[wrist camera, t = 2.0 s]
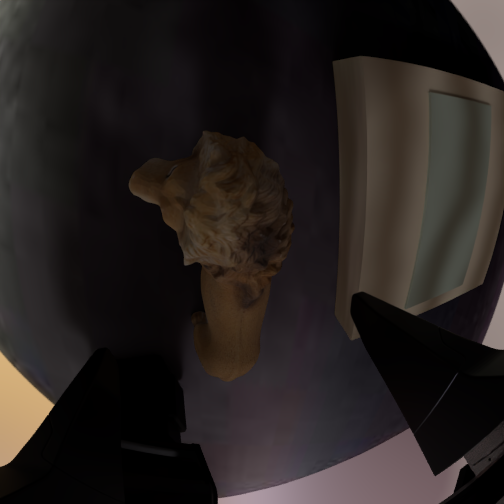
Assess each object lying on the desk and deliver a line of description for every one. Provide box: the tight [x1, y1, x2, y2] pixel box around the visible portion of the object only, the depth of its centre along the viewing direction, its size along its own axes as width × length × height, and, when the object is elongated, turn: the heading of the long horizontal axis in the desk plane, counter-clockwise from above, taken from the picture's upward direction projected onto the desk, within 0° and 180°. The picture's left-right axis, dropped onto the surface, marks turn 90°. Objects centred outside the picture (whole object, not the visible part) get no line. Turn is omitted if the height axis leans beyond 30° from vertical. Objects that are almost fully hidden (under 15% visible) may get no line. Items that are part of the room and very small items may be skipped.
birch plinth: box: [333, 56, 504, 340], centre depth 17 cm, size 16×18×3 cm
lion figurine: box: [129, 131, 294, 381], centre depth 13 cm, size 15×5×9 cm, turn 4°
